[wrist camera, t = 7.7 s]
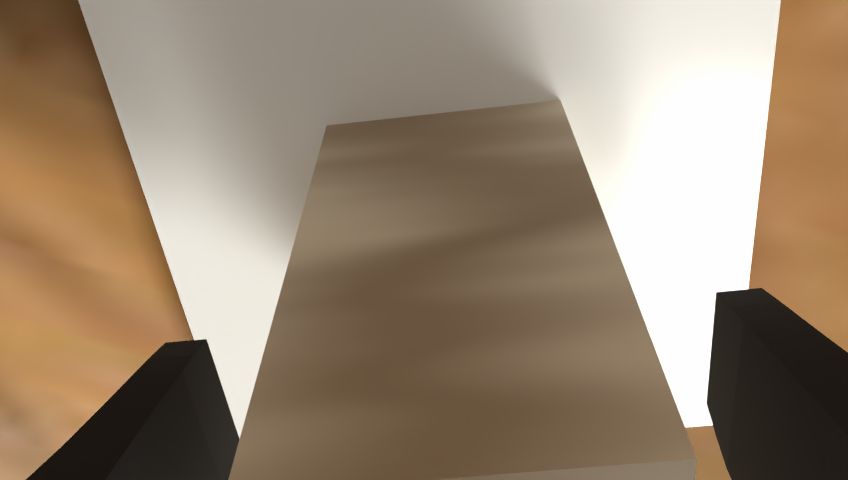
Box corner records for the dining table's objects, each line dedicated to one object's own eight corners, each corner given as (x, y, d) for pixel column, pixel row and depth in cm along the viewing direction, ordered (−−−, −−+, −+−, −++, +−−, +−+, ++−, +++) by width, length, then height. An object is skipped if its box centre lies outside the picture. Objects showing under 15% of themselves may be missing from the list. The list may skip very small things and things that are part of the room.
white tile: (775, -136, 12) (795, -129, 12) (721, 398, 18) (733, 423, 17) (84, -49, 13) (64, -38, 12) (243, 437, 19) (236, 463, 18)
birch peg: (560, 99, 13) (696, 458, 7) (566, 293, 15) (674, 719, 9) (326, 125, 14) (223, 496, 7) (363, 312, 16) (313, 739, 9)
